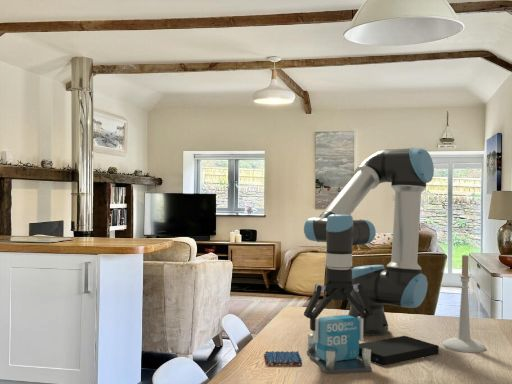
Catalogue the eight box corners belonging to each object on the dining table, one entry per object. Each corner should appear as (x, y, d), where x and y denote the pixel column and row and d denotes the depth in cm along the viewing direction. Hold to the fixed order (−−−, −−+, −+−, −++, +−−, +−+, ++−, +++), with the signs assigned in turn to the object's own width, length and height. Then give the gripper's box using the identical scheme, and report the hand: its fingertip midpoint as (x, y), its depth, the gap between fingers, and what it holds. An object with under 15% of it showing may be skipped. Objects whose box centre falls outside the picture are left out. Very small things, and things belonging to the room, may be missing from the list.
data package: (324, 363, 162) (324, 320, 162) (315, 359, 166) (316, 317, 166) (359, 358, 167) (359, 317, 167) (350, 354, 171) (350, 314, 171)
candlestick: (475, 355, 176) (477, 257, 175) (436, 346, 184) (437, 253, 184) (491, 346, 185) (493, 254, 185) (453, 339, 194) (454, 250, 193)
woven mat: (263, 357, 172) (263, 350, 172) (298, 357, 173) (298, 350, 173) (265, 368, 162) (265, 360, 162) (302, 368, 162) (302, 361, 162)
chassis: (346, 351, 178) (347, 332, 177) (372, 371, 158) (372, 350, 158) (306, 353, 175) (306, 333, 175) (327, 374, 156) (327, 352, 155)
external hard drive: (438, 355, 176) (438, 345, 176) (383, 367, 164) (383, 356, 164) (404, 344, 188) (404, 335, 188) (350, 354, 176) (350, 344, 176)
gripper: (374, 265, 172) (373, 335, 173) (294, 266, 167) (293, 339, 168) (384, 268, 165) (383, 342, 165) (301, 270, 160) (300, 346, 160)
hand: (338, 340), depth 166 cm, fingers open, 13 cm apart
